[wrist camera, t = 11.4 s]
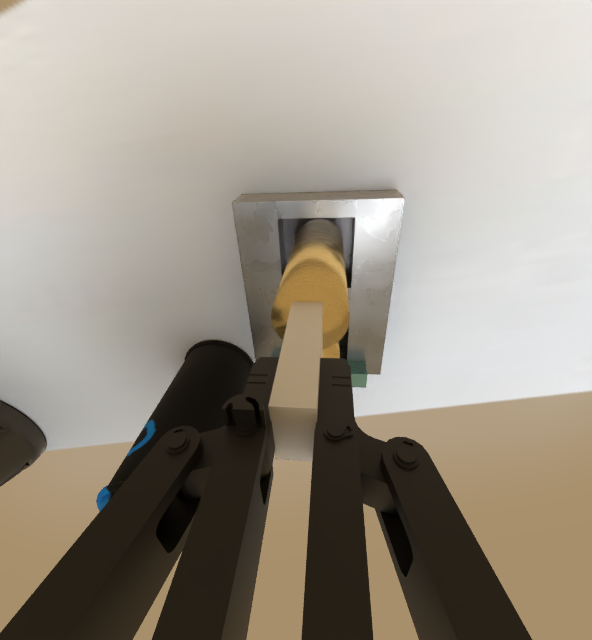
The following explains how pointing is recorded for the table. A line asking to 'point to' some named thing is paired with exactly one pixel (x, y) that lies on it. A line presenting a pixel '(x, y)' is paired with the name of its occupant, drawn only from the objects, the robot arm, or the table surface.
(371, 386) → the table surface
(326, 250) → the brass rod
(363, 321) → the jig
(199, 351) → the aerosol can
